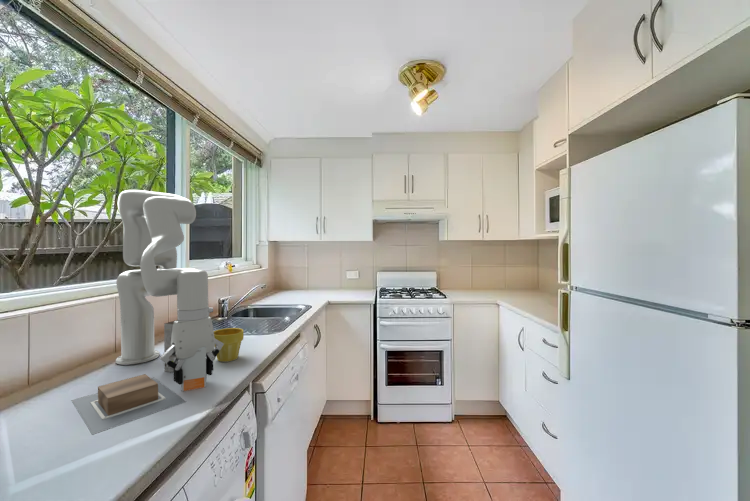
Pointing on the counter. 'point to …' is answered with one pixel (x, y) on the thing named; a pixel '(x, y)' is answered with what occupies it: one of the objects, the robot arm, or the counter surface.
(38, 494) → the counter surface
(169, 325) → the coffee box
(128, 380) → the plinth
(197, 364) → the skincare box
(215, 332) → the plant pot
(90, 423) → the grey rectangular mat
